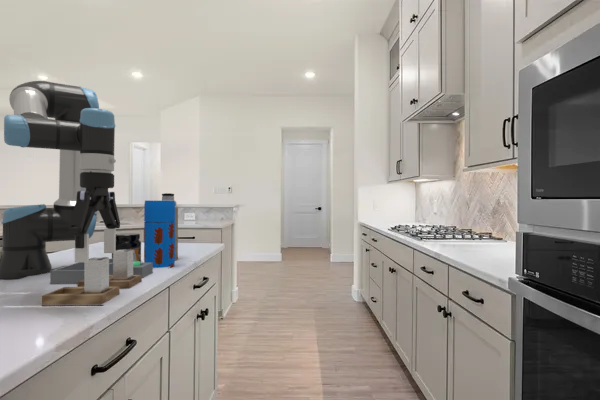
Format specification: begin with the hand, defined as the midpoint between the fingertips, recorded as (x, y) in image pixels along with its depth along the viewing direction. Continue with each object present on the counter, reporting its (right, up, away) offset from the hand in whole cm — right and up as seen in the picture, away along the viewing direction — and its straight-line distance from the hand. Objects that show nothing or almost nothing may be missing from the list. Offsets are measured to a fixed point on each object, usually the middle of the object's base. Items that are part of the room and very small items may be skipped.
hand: (96, 257), depth 92 cm
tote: (-16, -11, +27) cm, 33 cm away
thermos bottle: (-5, -11, +63) cm, 64 cm away
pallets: (-4, -11, +7) cm, 13 cm away
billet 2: (0, -10, +15) cm, 18 cm away
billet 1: (0, -10, 0) cm, 10 cm away
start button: (-4, -9, +28) cm, 30 cm away
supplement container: (-16, -11, +51) cm, 54 cm away
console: (-3, -11, +28) cm, 30 cm away
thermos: (-2, -11, +47) cm, 49 cm away
